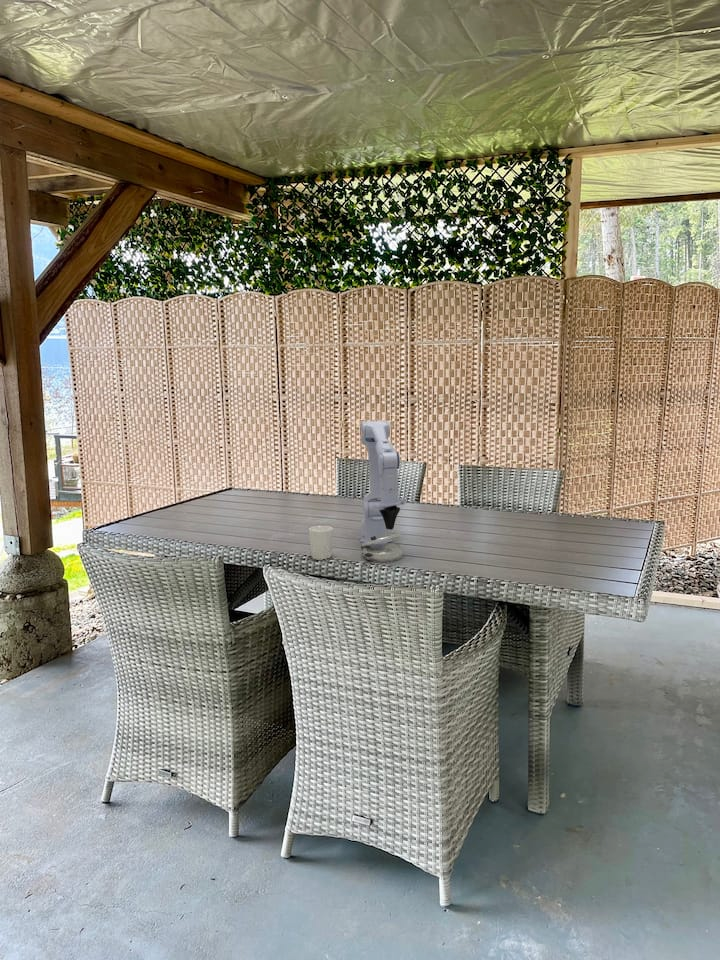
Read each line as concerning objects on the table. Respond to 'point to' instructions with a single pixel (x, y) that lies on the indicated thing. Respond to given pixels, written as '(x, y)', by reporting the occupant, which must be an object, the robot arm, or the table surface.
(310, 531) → the white cup
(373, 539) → the lid
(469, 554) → the table surface
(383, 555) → the grey flat round piece
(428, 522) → the table surface
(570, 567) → the table surface
